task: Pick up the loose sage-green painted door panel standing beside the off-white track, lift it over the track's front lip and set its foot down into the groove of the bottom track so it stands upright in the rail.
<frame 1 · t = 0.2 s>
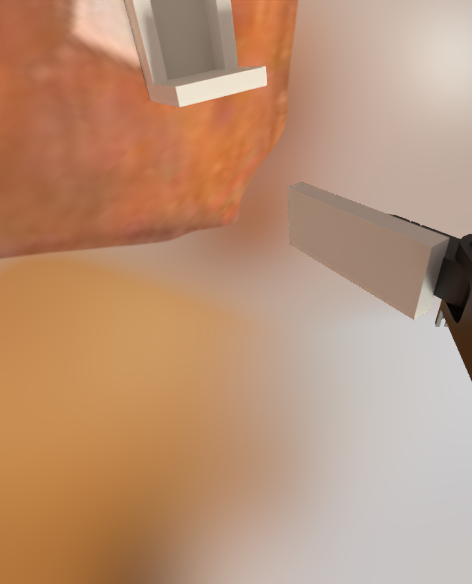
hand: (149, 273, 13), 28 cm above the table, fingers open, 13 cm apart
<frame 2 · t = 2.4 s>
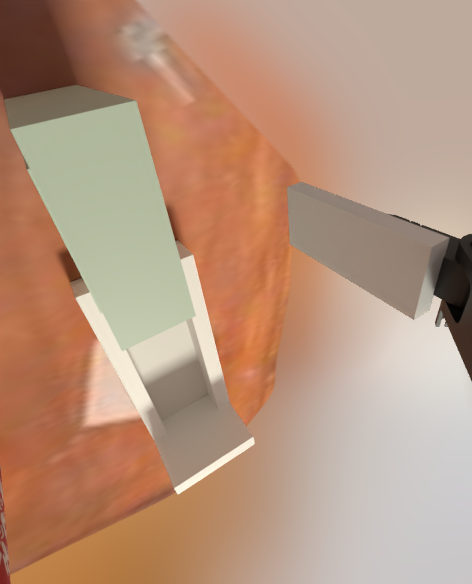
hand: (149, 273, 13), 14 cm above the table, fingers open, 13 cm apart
track: (160, 345, 33), on the table
door panel: (77, 177, 23), on the table
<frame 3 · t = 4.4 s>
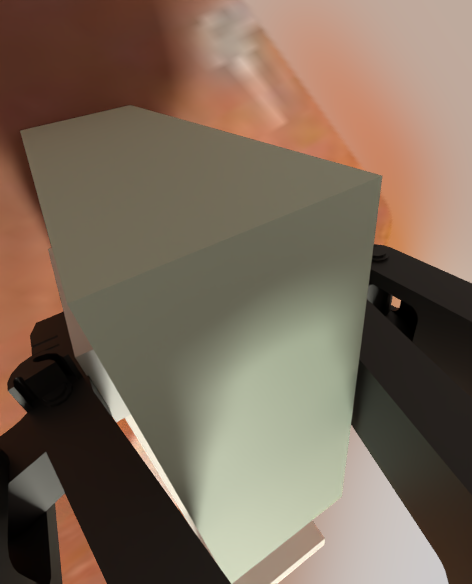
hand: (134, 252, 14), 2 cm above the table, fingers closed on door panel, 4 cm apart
track: (211, 427, 26), on the table
door panel: (124, 237, 15), on the table, touching gripper
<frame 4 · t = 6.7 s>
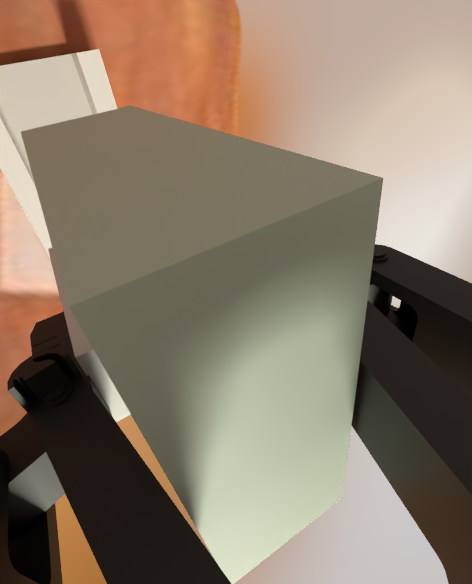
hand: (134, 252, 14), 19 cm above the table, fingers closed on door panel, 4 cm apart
track: (84, 198, 30), on the table
door panel: (124, 237, 15), point 17 cm above the table, touching gripper
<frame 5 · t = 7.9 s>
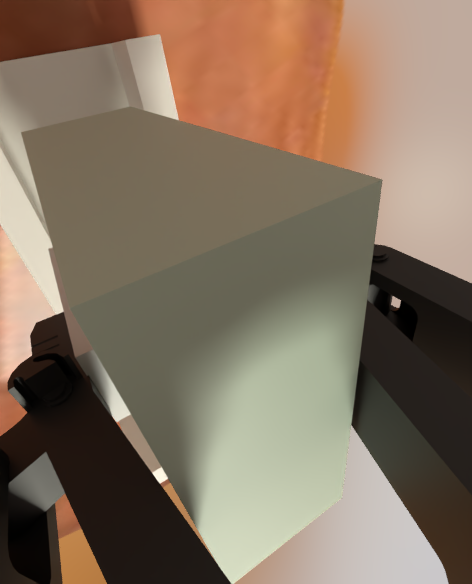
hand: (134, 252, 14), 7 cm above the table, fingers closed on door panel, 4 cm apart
track: (119, 251, 21), on the table
door panel: (124, 238, 15), point 5 cm above the table, touching gripper
when the fingers open (4 cm above the table, at t = 9.0 s): door panel drops 2 cm, resting on track.
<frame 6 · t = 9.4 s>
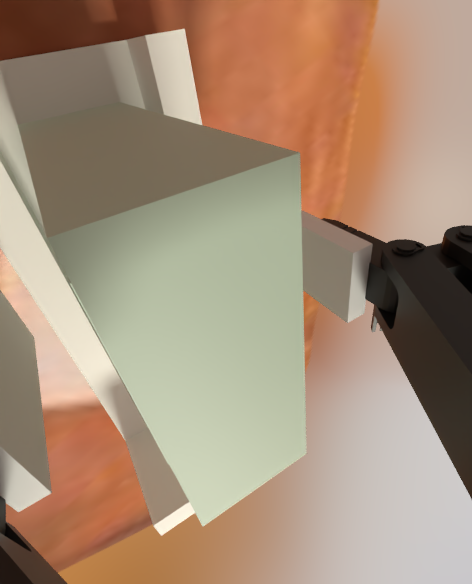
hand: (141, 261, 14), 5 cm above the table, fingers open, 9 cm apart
track: (131, 270, 19), on the table
door panel: (114, 225, 17), point 1 cm above the table, touching track
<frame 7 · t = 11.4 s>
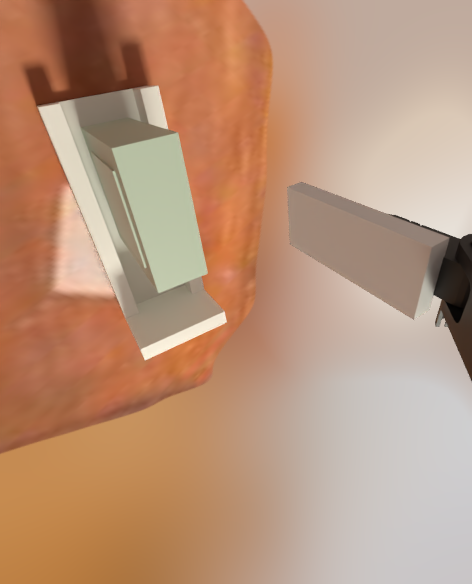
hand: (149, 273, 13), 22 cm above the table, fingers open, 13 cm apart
track: (132, 210, 33), on the table
door panel: (123, 181, 31), point 1 cm above the table, touching track
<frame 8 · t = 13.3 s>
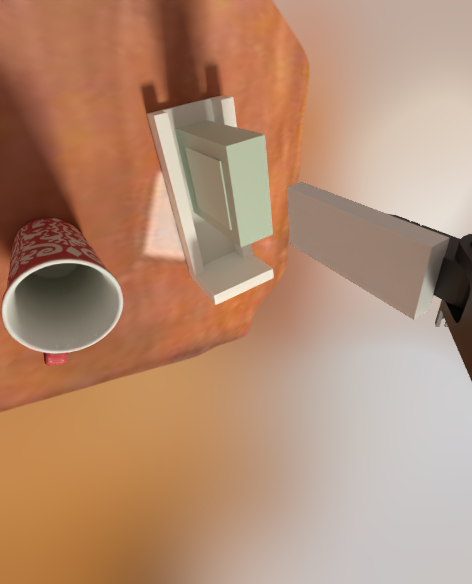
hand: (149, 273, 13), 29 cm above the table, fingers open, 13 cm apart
mug: (48, 261, 38), on the table
track: (202, 191, 44), on the table
door panel: (199, 168, 41), point 1 cm above the table, touching track
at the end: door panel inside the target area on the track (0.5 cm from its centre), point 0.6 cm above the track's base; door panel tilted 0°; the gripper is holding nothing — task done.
